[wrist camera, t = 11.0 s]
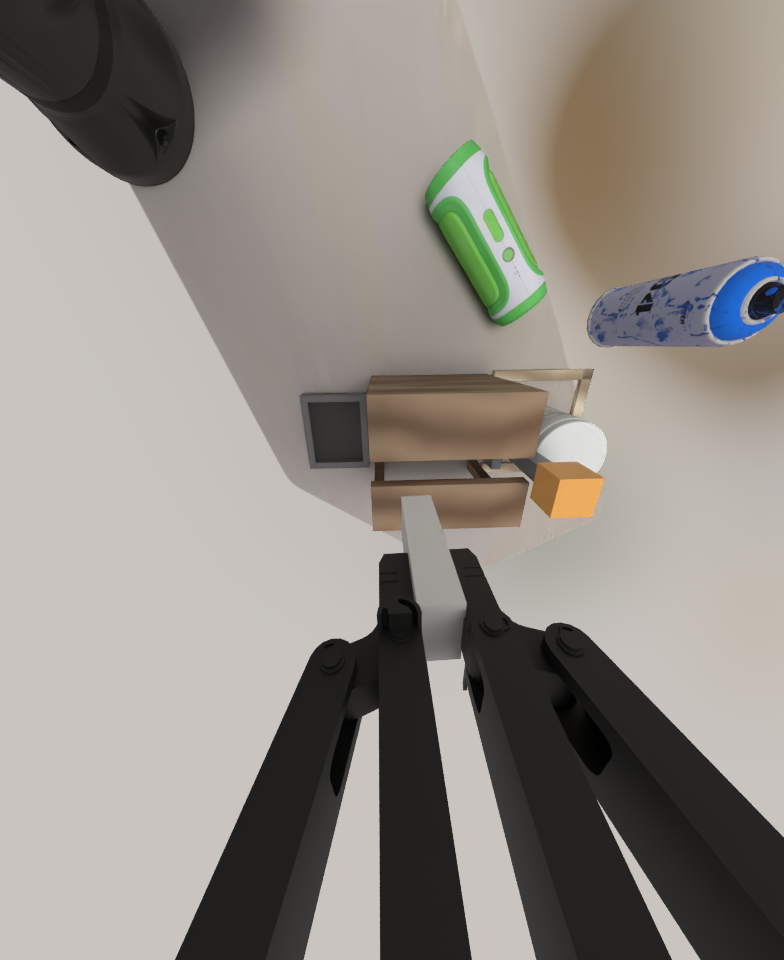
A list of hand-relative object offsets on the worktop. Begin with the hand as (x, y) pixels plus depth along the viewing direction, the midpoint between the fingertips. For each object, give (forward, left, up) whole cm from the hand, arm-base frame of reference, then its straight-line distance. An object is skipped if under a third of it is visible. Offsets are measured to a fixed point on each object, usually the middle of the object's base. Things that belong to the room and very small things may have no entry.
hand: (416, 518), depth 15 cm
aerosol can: (-11, +33, -35) cm, 49 cm away
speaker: (-19, +12, -35) cm, 42 cm away
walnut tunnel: (+5, +6, -35) cm, 35 cm away
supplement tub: (+5, +22, -35) cm, 41 cm away
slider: (+5, +16, -35) cm, 38 cm away
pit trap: (+5, -9, -35) cm, 36 cm away
